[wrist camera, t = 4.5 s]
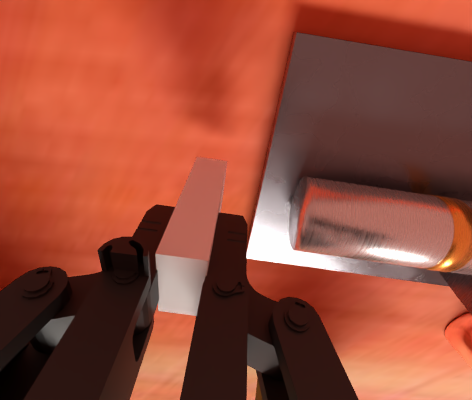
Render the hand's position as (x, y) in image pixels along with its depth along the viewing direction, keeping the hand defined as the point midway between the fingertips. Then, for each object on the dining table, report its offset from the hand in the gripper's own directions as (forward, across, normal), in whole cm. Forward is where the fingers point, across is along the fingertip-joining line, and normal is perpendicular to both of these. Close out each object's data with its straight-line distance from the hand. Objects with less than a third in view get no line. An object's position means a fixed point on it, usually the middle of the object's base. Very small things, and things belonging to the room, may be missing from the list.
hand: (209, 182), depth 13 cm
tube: (+2, +12, 0) cm, 12 cm away
